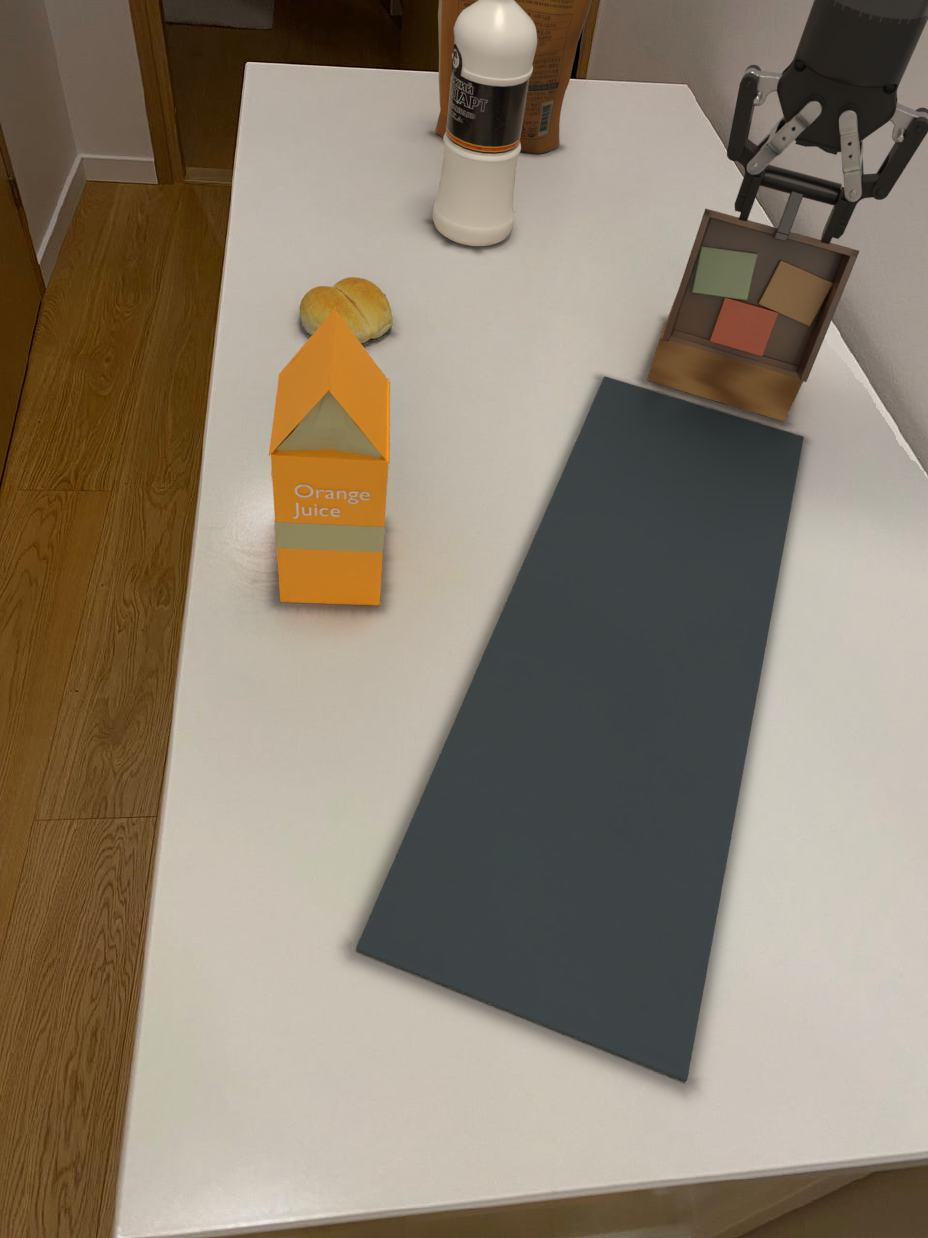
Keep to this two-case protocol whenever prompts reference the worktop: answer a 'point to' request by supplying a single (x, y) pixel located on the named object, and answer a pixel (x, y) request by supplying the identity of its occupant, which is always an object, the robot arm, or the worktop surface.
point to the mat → (605, 738)
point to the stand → (724, 377)
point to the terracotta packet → (744, 326)
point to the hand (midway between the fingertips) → (784, 226)
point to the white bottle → (484, 122)
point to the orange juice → (330, 470)
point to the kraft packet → (795, 293)
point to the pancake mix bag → (559, 21)
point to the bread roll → (349, 307)
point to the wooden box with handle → (768, 274)
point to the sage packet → (724, 272)
